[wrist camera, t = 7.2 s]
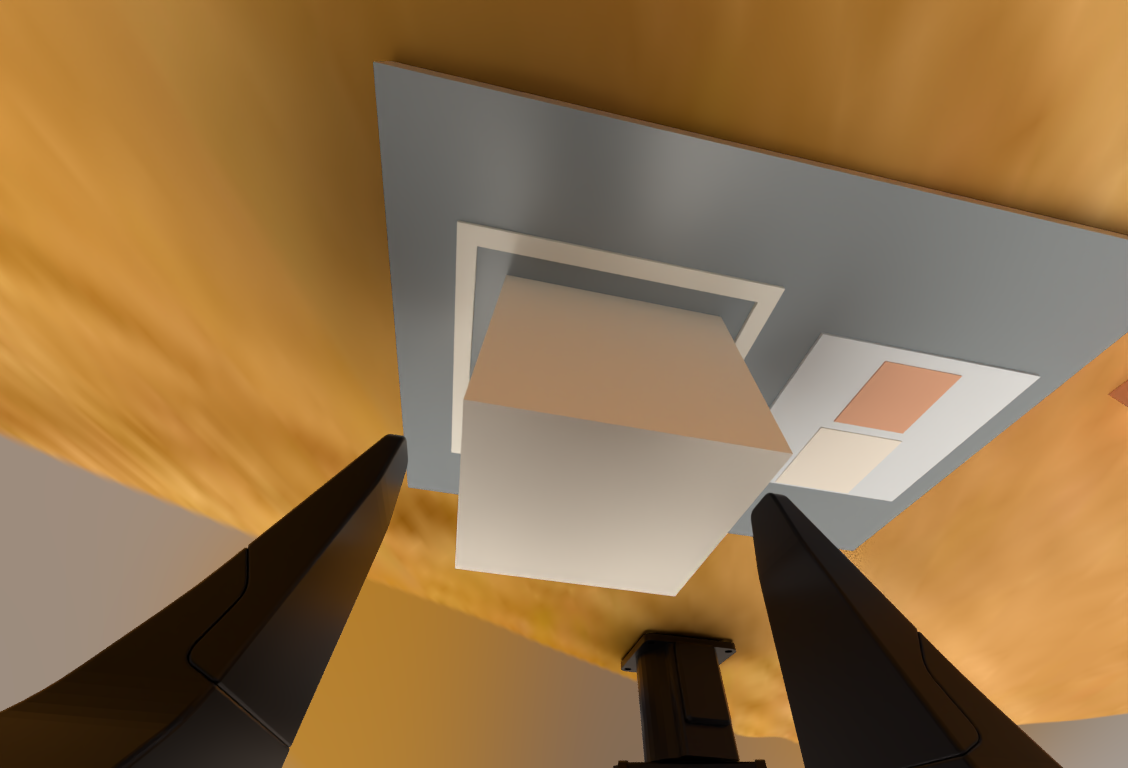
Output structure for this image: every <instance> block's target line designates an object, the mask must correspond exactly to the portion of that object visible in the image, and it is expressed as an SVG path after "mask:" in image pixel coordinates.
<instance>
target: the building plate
mask: <svg viewBox="0 0 1128 768" xmlns="http://www.w3.org/2000/svg"><path fill="white" fill-rule="evenodd" d="M373 68H374V80H375V92H376V104H377V116H378V128H379V140H380V152H381V164H382V177H383V189H384V201H385V213H386V225H387V237H388V249H389V261H390V274H391V286H392V298H393V310H394V322H395V334H396V346H397V358H398V370H399V383H400V395H401V407H402V419H403V431H404V437H405V438H406V440H407V451H408V465H407V479H408V487H410V488H417V489H424V490H431V491H438V492H445V493H452V494H459V479H460V459H461V439H462V419H463V399H464V396H465V393H466V391H467V388H468V385H469V382H470V379H471V376H472V373H473V370H474V367H475V364H476V362H477V359H478V356H479V353H480V350H481V347H482V344H483V341H484V338H485V335H486V333H487V330H488V327H489V324H490V321H491V318H492V315H493V312H494V309H495V306H496V303H497V301H498V298H499V295H500V292H501V289H502V286H503V283H504V280H505V277H506V275H510V276H515V277H520V278H525V279H530V280H536V281H541V282H546V283H551V284H556V285H561V286H566V287H571V288H576V289H581V290H587V291H592V292H597V293H602V294H607V295H612V296H617V297H622V298H627V299H632V300H638V301H643V302H648V303H653V304H658V305H663V306H668V307H673V308H678V309H684V310H689V311H694V312H699V313H704V314H709V315H714V316H719V317H721V318H722V320H723V322H724V324H725V325H726V327H727V329H728V331H729V333H730V335H731V337H732V339H733V341H734V343H735V344H736V346H737V348H738V350H739V352H740V354H741V356H742V358H743V360H744V362H745V363H746V365H747V367H748V369H749V371H750V373H751V375H752V377H753V379H754V381H755V382H756V384H757V386H758V388H759V390H760V392H761V394H762V396H763V398H764V400H765V401H766V403H767V405H768V407H769V409H770V411H771V413H772V415H773V417H774V419H775V420H776V422H777V424H778V426H779V428H780V430H781V432H782V434H783V436H784V438H785V439H786V441H787V443H788V445H789V447H790V449H791V451H792V453H793V455H792V456H791V457H790V458H789V460H788V461H787V462H786V463H785V465H784V466H783V467H782V468H781V469H780V471H779V472H778V473H777V474H776V475H775V477H774V478H773V479H772V480H771V481H770V483H769V484H768V485H767V486H766V487H765V489H764V490H763V491H762V492H761V493H760V495H759V496H758V497H757V498H756V499H755V501H754V502H753V503H752V504H751V505H750V507H749V508H748V509H747V510H746V511H745V513H744V514H743V515H742V516H741V517H740V519H739V520H738V521H737V522H736V523H735V525H734V526H733V527H732V528H731V529H730V531H729V532H728V533H731V534H738V535H745V536H752V537H753V532H752V525H751V512H752V510H753V509H754V507H755V506H756V505H757V504H758V503H759V501H760V500H761V499H762V498H763V497H764V495H766V494H767V493H777V494H783V495H785V496H787V497H788V498H789V499H790V500H791V501H792V502H793V503H794V504H795V505H796V506H797V507H798V508H799V509H800V510H801V511H802V512H803V513H804V514H805V516H806V517H807V518H808V519H809V520H810V521H811V522H812V523H813V524H814V525H815V526H816V527H817V528H818V529H819V530H820V531H821V532H822V533H823V534H824V535H825V536H826V537H827V538H828V539H829V540H830V541H831V542H832V543H833V544H834V545H835V546H836V547H837V548H838V549H843V550H850V551H854V550H855V549H856V548H857V547H859V546H860V545H861V544H862V543H864V542H865V541H866V540H867V539H869V538H870V537H871V536H872V535H874V534H875V533H876V532H877V531H879V530H880V529H881V528H882V527H884V526H885V525H886V524H887V523H889V522H890V521H891V520H892V519H894V518H895V517H896V516H897V515H899V514H900V513H901V512H902V511H904V510H905V509H906V508H907V507H909V506H910V505H911V504H912V503H914V502H915V501H916V500H918V499H919V498H920V497H921V496H923V495H924V494H925V493H926V492H928V491H929V490H930V489H931V488H933V487H934V486H935V485H936V484H938V483H939V482H940V481H941V480H943V479H944V478H945V477H946V476H948V475H949V474H950V473H951V472H953V471H954V470H955V469H956V468H958V467H959V466H960V465H961V464H963V463H964V462H965V461H966V460H968V459H969V458H970V457H971V456H973V455H974V454H975V453H976V452H978V451H979V450H980V449H982V448H983V447H984V446H985V445H987V444H988V443H989V442H990V441H992V440H993V439H994V438H995V437H997V436H998V435H999V434H1000V433H1002V432H1003V431H1004V430H1005V429H1007V428H1008V427H1009V426H1010V425H1012V424H1013V423H1014V422H1015V421H1017V420H1018V419H1019V418H1020V417H1022V416H1023V415H1024V414H1025V413H1027V412H1028V411H1029V410H1030V409H1032V408H1033V407H1034V406H1035V405H1037V404H1038V403H1039V402H1040V401H1042V400H1043V399H1044V398H1045V397H1047V396H1048V395H1049V394H1051V393H1052V392H1053V391H1054V390H1056V389H1057V388H1058V387H1059V386H1061V385H1062V384H1063V383H1064V382H1066V381H1067V380H1068V379H1069V378H1071V377H1072V376H1073V375H1074V374H1076V373H1077V372H1078V371H1079V370H1081V369H1082V368H1083V367H1084V366H1086V365H1087V364H1088V363H1089V362H1091V361H1092V360H1093V359H1094V358H1096V357H1097V356H1098V355H1099V354H1101V353H1102V352H1103V351H1104V350H1106V349H1107V348H1108V347H1109V346H1111V345H1112V344H1113V343H1115V342H1116V341H1117V340H1118V339H1120V338H1121V337H1122V336H1123V335H1125V334H1126V333H1127V332H1128V235H1124V234H1120V233H1116V232H1111V231H1107V230H1103V229H1099V228H1094V227H1090V226H1086V225H1082V224H1078V223H1073V222H1069V221H1065V220H1061V219H1056V218H1052V217H1048V216H1044V215H1040V214H1035V213H1031V212H1027V211H1023V210H1019V209H1014V208H1010V207H1006V206H1002V205H997V204H993V203H989V202H985V201H981V200H976V199H972V198H968V197H964V196H959V195H955V194H951V193H947V192H943V191H938V190H934V189H930V188H926V187H921V186H917V185H913V184H909V183H905V182H900V181H896V180H892V179H888V178H883V177H879V176H875V175H871V174H867V173H862V172H858V171H854V170H850V169H846V168H841V167H837V166H833V165H829V164H824V163H820V162H816V161H812V160H808V159H803V158H799V157H795V156H791V155H786V154H782V153H778V152H774V151H770V150H765V149H761V148H757V147H753V146H748V145H744V144H740V143H736V142H732V141H727V140H723V139H719V138H715V137H710V136H706V135H702V134H698V133H694V132H689V131H685V130H681V129H677V128H673V127H668V126H664V125H660V124H656V123H651V122H647V121H643V120H639V119H635V118H630V117H626V116H622V115H618V114H613V113H609V112H605V111H601V110H597V109H592V108H588V107H584V106H580V105H575V104H571V103H567V102H563V101H559V100H554V99H550V98H546V97H542V96H537V95H533V94H529V93H525V92H521V91H516V90H512V89H508V88H504V87H500V86H495V85H491V84H487V83H483V82H478V81H474V80H470V79H466V78H462V77H457V76H453V75H449V74H445V73H440V72H436V71H432V70H428V69H424V68H419V67H415V66H411V65H407V64H402V63H398V62H394V61H375V62H373Z"/></svg>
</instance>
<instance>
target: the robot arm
mask: <svg viewBox="0 0 1128 768" xmlns="http://www.w3.org/2000/svg"><path fill="white" fill-rule="evenodd" d="M407 465H408V451H407V440H406V438H405V437H404V436H400V435H393V434H388V435H386V436H384V437H383V438H382V439H380V440H379V441H378V442H377V443H375V444H374V445H373V446H372V447H370V448H369V449H368V450H367V451H365V452H364V453H363V454H362V455H360V456H359V457H358V458H357V459H355V460H354V461H353V462H352V463H350V464H349V465H348V466H347V467H345V468H344V469H343V470H342V471H340V472H339V473H338V474H337V475H335V476H334V477H333V478H332V479H330V480H329V481H328V482H327V483H325V484H324V485H323V486H322V487H320V488H319V489H318V490H317V491H315V492H314V493H313V494H312V495H310V496H309V497H308V498H307V499H305V500H304V501H303V502H302V503H300V504H299V505H298V506H297V507H295V508H294V509H293V510H292V511H290V512H289V513H288V514H287V515H285V516H284V517H283V518H282V519H280V520H279V521H278V522H277V523H275V524H274V525H273V526H272V527H270V528H269V529H268V530H267V531H265V532H264V533H263V534H262V535H260V536H259V537H258V538H257V539H255V540H254V541H253V542H252V543H250V544H249V545H248V548H244V549H243V550H242V551H240V552H239V553H238V554H236V555H235V556H234V557H233V558H231V559H230V560H229V561H228V562H226V563H225V564H224V565H222V566H221V567H220V568H219V569H217V570H216V571H215V572H213V573H212V574H211V575H209V576H208V577H207V578H206V579H204V580H203V581H202V582H200V583H199V584H198V585H196V586H195V587H193V588H192V589H191V590H189V591H188V592H187V593H185V594H184V595H183V596H181V597H179V598H178V599H177V600H175V601H174V602H172V603H171V604H170V605H168V606H167V607H165V608H164V609H163V610H161V611H160V612H158V613H157V614H155V615H154V616H152V617H151V618H149V619H148V620H147V621H145V622H144V623H142V624H141V625H140V626H138V627H136V628H135V629H133V630H132V631H130V632H129V633H128V634H126V635H125V636H123V637H122V638H120V639H119V640H117V641H116V642H114V643H113V644H112V645H110V646H109V647H107V648H106V649H104V650H103V651H101V652H100V653H99V654H97V655H95V656H94V657H93V658H91V659H90V660H88V661H87V662H85V663H84V664H83V665H81V666H79V667H78V668H76V669H75V670H73V671H72V672H71V673H69V674H67V675H66V676H64V677H63V678H61V679H60V680H58V681H57V682H55V683H53V684H51V685H50V686H48V687H47V688H45V689H43V690H42V691H40V692H38V693H36V694H34V695H32V696H30V697H29V698H27V699H25V700H24V701H21V702H19V703H17V704H15V705H13V706H11V707H9V708H7V709H5V710H3V711H1V712H0V768H282V766H283V763H284V761H285V759H286V757H287V754H288V752H289V747H290V746H291V745H292V743H293V740H294V738H295V736H296V734H297V731H298V729H299V727H300V725H301V723H302V720H303V718H304V716H305V714H306V711H307V709H308V707H309V705H310V702H311V700H312V698H313V696H314V693H315V691H316V689H317V686H318V684H319V682H320V680H321V678H322V675H323V673H324V671H325V668H326V666H327V664H328V662H329V660H330V657H331V655H332V653H333V651H334V648H335V646H336V644H337V642H338V639H339V637H340V635H341V633H342V631H343V628H344V626H345V624H346V622H347V619H348V617H349V615H350V613H351V610H352V608H353V606H354V604H355V601H356V599H357V597H358V595H359V592H360V590H361V587H362V586H363V583H364V581H365V579H366V577H367V574H368V572H369V570H370V568H371V565H372V563H373V561H374V559H375V556H376V554H377V552H378V550H379V547H380V545H381V543H382V541H383V538H384V536H385V534H386V531H387V529H388V526H389V523H390V520H391V517H392V514H393V511H394V507H395V504H396V501H397V498H398V495H399V491H400V488H401V485H402V482H403V479H404V475H405V472H406V469H407ZM751 525H752V532H753V539H754V547H755V554H756V561H757V569H758V574H759V580H760V584H761V589H762V593H763V597H764V601H765V605H766V609H767V613H768V617H769V622H770V626H771V630H772V634H773V638H774V642H775V646H776V650H777V655H778V659H779V663H780V667H781V671H782V675H783V679H784V683H785V687H786V692H787V696H788V700H789V704H790V708H791V712H792V716H793V720H794V724H795V729H796V733H797V737H798V741H799V745H800V749H801V753H802V757H803V761H804V765H805V768H1063V767H1062V766H1061V765H1059V764H1058V763H1057V762H1056V761H1055V760H1054V759H1053V758H1052V757H1051V756H1050V755H1049V754H1047V753H1046V752H1045V751H1044V750H1043V749H1042V748H1041V747H1040V746H1039V745H1038V744H1036V742H1034V741H1033V740H1032V739H1031V738H1030V737H1029V736H1028V735H1027V734H1026V733H1025V732H1024V731H1023V730H1021V729H1020V728H1019V727H1018V726H1017V725H1016V724H1015V723H1014V722H1013V721H1012V720H1011V719H1010V718H1008V717H1007V716H1006V715H1005V714H1004V713H1003V712H1002V711H1001V710H1000V709H999V708H998V707H997V706H995V705H994V704H993V703H992V702H991V701H990V700H989V699H988V698H987V697H986V696H985V695H984V694H983V693H982V692H981V691H979V690H978V689H977V688H976V687H975V686H974V685H973V684H972V683H971V682H970V681H969V680H968V679H967V678H966V677H965V676H964V675H962V674H961V673H960V672H959V671H958V670H957V669H956V668H955V667H954V666H953V665H952V664H951V663H950V662H949V661H948V660H947V659H946V658H945V657H944V656H943V655H942V654H941V653H940V652H939V651H938V650H937V649H936V648H935V647H934V646H933V645H932V644H931V643H930V642H929V641H928V640H927V639H926V638H925V637H924V636H923V634H922V633H920V632H917V629H916V627H915V626H914V625H913V624H912V623H911V622H910V621H909V620H908V619H907V618H906V617H905V616H904V615H903V614H902V613H901V612H900V611H899V610H898V609H897V608H896V607H895V606H894V605H893V604H892V603H891V602H890V601H889V600H888V599H887V598H886V597H885V596H884V595H883V594H882V593H881V592H880V591H879V590H878V589H877V588H876V587H875V586H874V585H873V584H872V583H871V582H870V581H869V580H868V579H867V578H866V577H865V576H864V575H863V574H862V573H861V572H860V570H859V569H858V568H857V567H856V566H855V565H854V564H853V563H852V562H851V561H850V560H849V559H848V558H847V557H846V556H845V555H844V554H843V553H842V552H841V551H840V550H839V549H838V548H837V547H836V546H835V545H834V544H833V543H832V542H831V541H830V540H829V539H828V538H827V537H826V536H825V535H824V534H823V533H822V532H821V531H820V530H819V529H818V528H817V527H816V526H815V525H814V524H813V523H812V522H811V521H810V520H809V519H808V518H807V517H806V516H805V514H804V513H803V512H802V511H801V510H800V509H799V508H798V507H797V506H796V505H795V504H794V503H793V502H792V501H791V500H790V499H789V498H788V497H787V496H785V495H783V494H777V493H767V494H766V495H764V497H763V498H762V499H761V500H760V501H759V503H758V504H757V505H756V506H755V507H754V509H753V510H752V512H751ZM735 652H736V648H735V645H734V643H731V642H723V641H714V640H706V639H697V638H689V637H680V636H672V635H663V634H655V633H648V634H645V635H643V636H642V638H641V639H640V640H639V641H638V642H637V644H636V645H635V646H634V647H633V648H632V650H631V651H630V652H629V653H628V654H627V656H626V657H625V658H624V659H623V661H622V662H621V670H623V671H629V672H637V681H638V692H639V704H640V714H641V726H642V737H643V749H644V760H645V762H641V763H640V762H631V763H630V762H628V761H626V760H625V761H619V762H618V765H616V766H613V768H767V767H766V763H765V760H755V762H740V761H739V760H740V759H739V755H738V750H737V746H736V741H735V737H734V732H733V728H732V723H731V716H730V712H729V707H728V703H727V698H726V694H725V689H724V685H723V681H722V676H721V672H720V667H719V665H720V664H721V663H722V662H724V661H725V660H726V659H727V658H729V657H730V656H731V655H733V654H734V653H735Z"/></svg>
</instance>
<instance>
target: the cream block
mask: <svg viewBox="0 0 1128 768" xmlns="http://www.w3.org/2000/svg"><path fill="white" fill-rule="evenodd" d="M792 455H793V453H792V451H791V449H790V447H789V445H788V443H787V441H786V439H785V438H784V436H783V434H782V432H781V430H780V428H779V426H778V424H777V422H776V420H775V419H774V417H773V415H772V413H771V411H770V409H769V407H768V405H767V403H766V401H765V400H764V398H763V396H762V394H761V392H760V390H759V388H758V386H757V384H756V382H755V381H754V379H753V377H752V375H751V373H750V371H749V369H748V367H747V365H746V363H745V362H744V360H743V358H742V356H741V354H740V352H739V350H738V348H737V346H736V344H735V343H734V341H733V339H732V337H731V335H730V333H729V331H728V329H727V327H726V325H725V324H724V322H723V320H722V318H721V317H719V316H714V315H709V314H704V313H699V312H694V311H689V310H684V309H678V308H673V307H668V306H663V305H658V304H653V303H648V302H643V301H638V300H632V299H627V298H622V297H617V296H612V295H607V294H602V293H597V292H592V291H587V290H581V289H576V288H571V287H566V286H561V285H556V284H551V283H546V282H541V281H536V280H530V279H525V278H520V277H515V276H510V275H506V277H505V280H504V283H503V286H502V289H501V292H500V295H499V298H498V301H497V303H496V306H495V309H494V312H493V315H492V318H491V321H490V324H489V327H488V330H487V333H486V335H485V338H484V341H483V344H482V347H481V350H480V353H479V356H478V359H477V362H476V364H475V367H474V370H473V373H472V376H471V379H470V382H469V385H468V388H467V391H466V393H465V396H464V399H463V419H462V439H461V459H460V479H459V499H458V519H457V539H456V559H455V569H463V570H471V571H479V572H487V573H495V574H503V575H511V576H518V577H526V578H534V579H542V580H550V581H558V582H566V583H574V584H581V585H589V586H597V587H605V588H613V589H621V590H629V591H637V592H644V593H652V594H660V595H668V596H676V594H677V593H678V592H679V591H680V590H681V588H682V587H683V586H684V585H685V584H686V582H687V581H688V580H689V579H690V578H691V576H692V575H693V574H694V573H695V572H696V570H697V569H698V568H699V567H700V566H701V564H702V563H703V562H704V561H705V560H706V558H707V557H708V556H709V555H710V554H711V552H712V551H713V550H714V549H715V548H716V546H717V545H718V544H719V543H720V542H721V540H722V539H723V538H724V537H725V536H726V534H727V533H728V532H729V531H730V529H731V528H732V527H733V526H734V525H735V523H736V522H737V521H738V520H739V519H740V517H741V516H742V515H743V514H744V513H745V511H746V510H747V509H748V508H749V507H750V505H751V504H752V503H753V502H754V501H755V499H756V498H757V497H758V496H759V495H760V493H761V492H762V491H763V490H764V489H765V487H766V486H767V485H768V484H769V483H770V481H771V480H772V479H773V478H774V477H775V475H776V474H777V473H778V472H779V471H780V469H781V468H782V467H783V466H784V465H785V463H786V462H787V461H788V460H789V458H790V457H791V456H792Z"/></svg>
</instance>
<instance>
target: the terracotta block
mask: <svg viewBox="0 0 1128 768" xmlns="http://www.w3.org/2000/svg"><path fill="white" fill-rule="evenodd" d="M1108 395H1110V396H1112V397H1113V398H1115V399H1116V400H1118V401H1119V402H1121V403H1122V404H1124V405H1125V406H1127V407H1128V380H1127V381H1126V382H1124V383H1123V384H1122V385H1120V386H1119V387H1118V388H1116V389H1115V390H1113V391H1112V392H1111V393H1109V394H1108Z"/></svg>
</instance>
